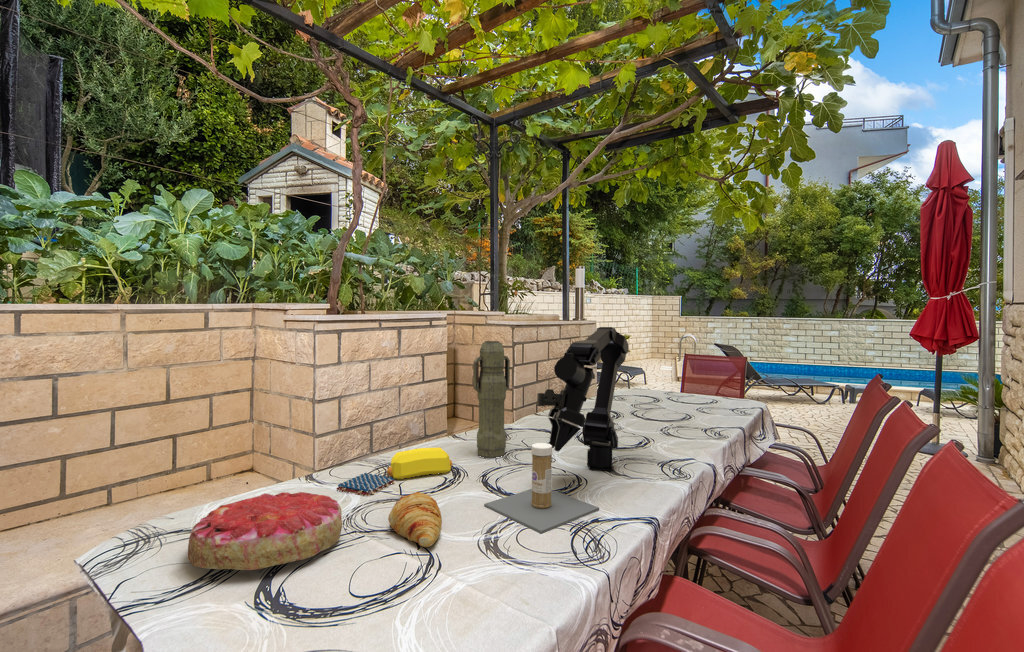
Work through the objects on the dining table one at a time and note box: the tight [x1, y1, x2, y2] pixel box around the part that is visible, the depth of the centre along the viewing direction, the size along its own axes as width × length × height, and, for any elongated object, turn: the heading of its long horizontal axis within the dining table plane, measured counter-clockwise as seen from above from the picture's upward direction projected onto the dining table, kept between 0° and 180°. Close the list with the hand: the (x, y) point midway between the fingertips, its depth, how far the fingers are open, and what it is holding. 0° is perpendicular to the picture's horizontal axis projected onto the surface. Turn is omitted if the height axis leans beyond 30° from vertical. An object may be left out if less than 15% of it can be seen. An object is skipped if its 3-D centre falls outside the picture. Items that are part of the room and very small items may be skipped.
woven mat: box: [336, 472, 396, 497], centre depth 118 cm, size 10×11×2 cm
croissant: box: [387, 491, 443, 548], centre depth 94 cm, size 21×10×8 cm, turn 26°
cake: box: [187, 491, 343, 571], centre depth 87 cm, size 25×25×8 cm
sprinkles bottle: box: [531, 442, 553, 508], centre depth 105 cm, size 5×5×14 cm
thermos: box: [473, 340, 511, 459], centre depth 146 cm, size 9×12×35 cm
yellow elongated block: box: [386, 447, 453, 480], centre depth 128 cm, size 18×7×8 cm
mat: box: [483, 488, 600, 534], centre depth 105 cm, size 18×18×1 cm
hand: (553, 449), depth 117 cm, fingers open, 9 cm apart
